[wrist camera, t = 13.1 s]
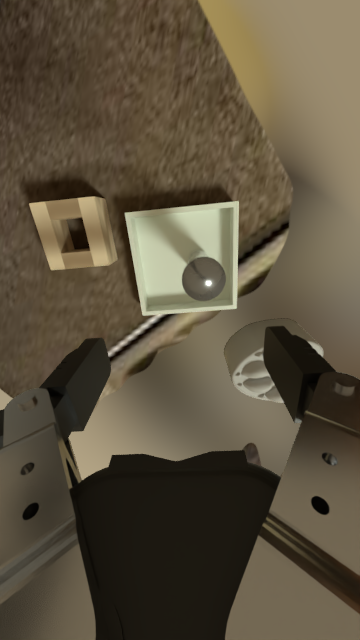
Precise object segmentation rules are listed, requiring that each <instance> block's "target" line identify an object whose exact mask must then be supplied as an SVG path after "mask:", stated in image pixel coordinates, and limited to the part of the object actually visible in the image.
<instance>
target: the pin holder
mask: <svg viewBox="0 0 360 640" xmlns="http://www.w3.org/2000/svg"><path fill="white" fill-rule="evenodd" d="M29 206H30V209H31V212H32V215H33V218H34V221H35V224H36V227H37V230H38V233H39V236H40V239H41V242H42V245H43V248H44V251H45V254H46V257H47V260H48V263H49V266H50V269H51V270H60V269H71V268H82V267H94V266H105V265H110V264H112V263H113V262H115V261H116V260H118V259H117V254H116V249H115V244H114V239H113V234H112V229H111V225H110V220H109V215H108V210H107V205H106V200H105V199H104V198H99V197H95V196H93V197H83V198H74V199H65V200H56V201H46V202H37V203H29ZM77 218H83V222H84V226H85V230H86V234H87V238H88V242H89V246H90V248H85V249H74V245H73V242H72V238H71V234H70V231H69V227H68V224H67V219H77Z"/></svg>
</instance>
